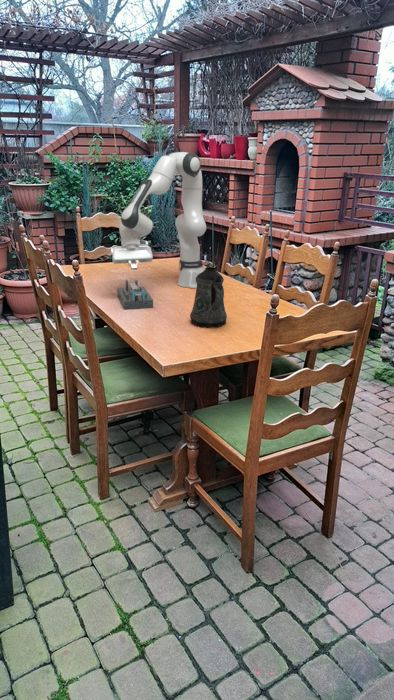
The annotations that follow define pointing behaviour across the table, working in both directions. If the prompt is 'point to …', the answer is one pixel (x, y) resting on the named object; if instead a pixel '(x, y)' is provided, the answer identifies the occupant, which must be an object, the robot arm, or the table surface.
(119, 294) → the grey mechanical fixture
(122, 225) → the robot arm
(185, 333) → the table surface
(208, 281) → the beer stein
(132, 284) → the silver long bar
